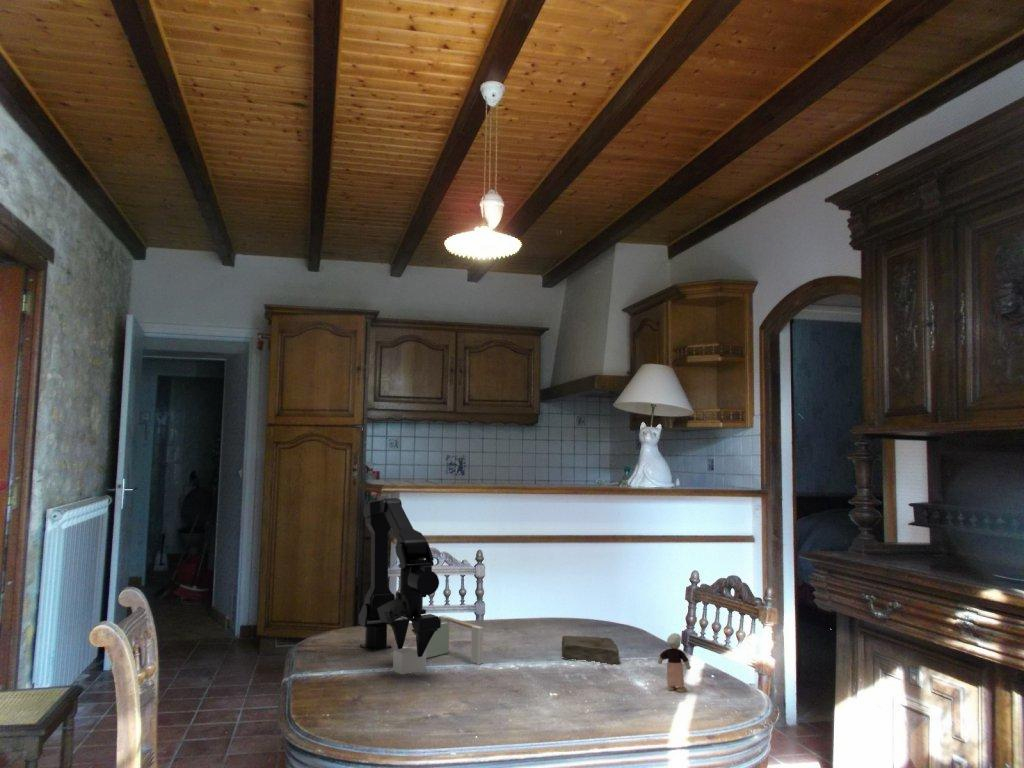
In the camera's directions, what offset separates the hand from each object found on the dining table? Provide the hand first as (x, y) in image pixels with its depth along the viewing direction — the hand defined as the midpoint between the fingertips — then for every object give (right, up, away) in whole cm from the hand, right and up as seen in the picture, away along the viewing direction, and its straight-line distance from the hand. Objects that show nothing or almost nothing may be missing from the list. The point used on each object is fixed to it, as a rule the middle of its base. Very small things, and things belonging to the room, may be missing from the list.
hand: (409, 652), depth 197 cm
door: (+4, -5, +13) cm, 14 cm away
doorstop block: (0, -4, 0) cm, 4 cm away
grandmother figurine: (+63, -4, -13) cm, 64 cm away
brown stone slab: (+46, -7, +16) cm, 49 cm away
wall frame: (+11, -5, +13) cm, 18 cm away
